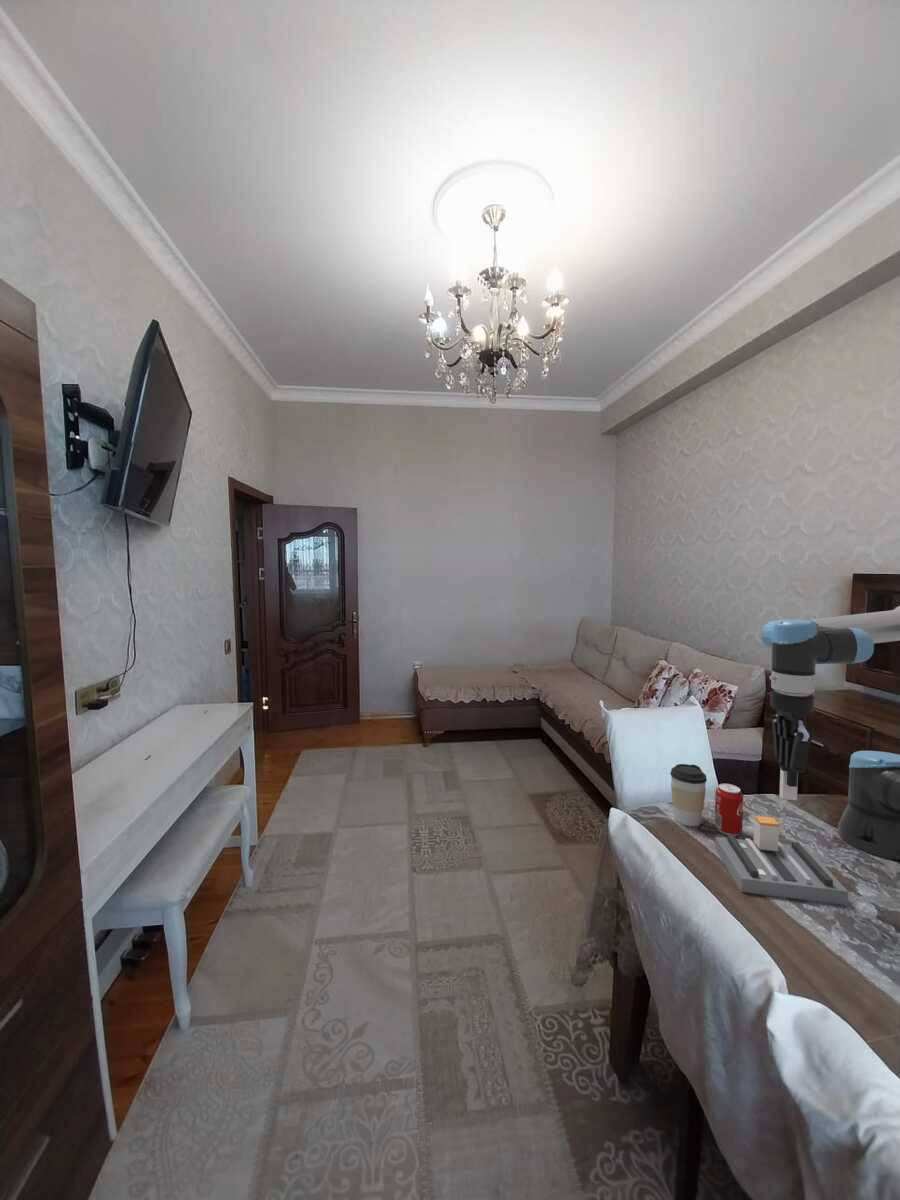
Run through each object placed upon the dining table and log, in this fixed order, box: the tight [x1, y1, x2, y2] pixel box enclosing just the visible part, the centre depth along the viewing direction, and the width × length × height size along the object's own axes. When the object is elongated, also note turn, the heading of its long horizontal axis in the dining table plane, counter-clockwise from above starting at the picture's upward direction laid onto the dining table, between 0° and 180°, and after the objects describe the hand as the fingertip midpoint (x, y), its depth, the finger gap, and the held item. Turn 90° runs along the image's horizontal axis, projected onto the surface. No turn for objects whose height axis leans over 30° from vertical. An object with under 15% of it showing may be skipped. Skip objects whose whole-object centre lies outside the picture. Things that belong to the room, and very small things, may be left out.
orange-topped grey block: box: [753, 815, 780, 851], centre depth 110 cm, size 4×3×7 cm
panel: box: [714, 836, 849, 906], centre depth 106 cm, size 20×16×4 cm
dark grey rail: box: [726, 835, 759, 878], centre depth 107 cm, size 2×14×4 cm, turn 168°
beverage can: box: [714, 783, 744, 837], centre depth 123 cm, size 6×6×12 cm
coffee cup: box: [669, 763, 708, 827], centre depth 129 cm, size 9×9×15 cm
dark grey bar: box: [790, 841, 833, 887], centre depth 104 cm, size 2×14×4 cm, turn 168°
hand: (788, 798), depth 101 cm, fingers closed
